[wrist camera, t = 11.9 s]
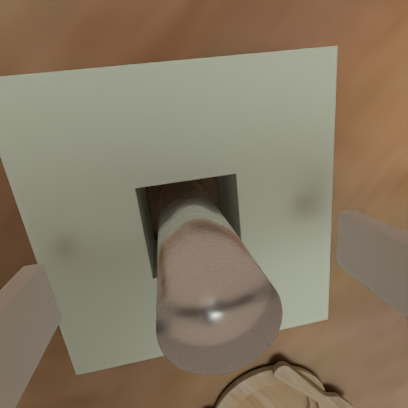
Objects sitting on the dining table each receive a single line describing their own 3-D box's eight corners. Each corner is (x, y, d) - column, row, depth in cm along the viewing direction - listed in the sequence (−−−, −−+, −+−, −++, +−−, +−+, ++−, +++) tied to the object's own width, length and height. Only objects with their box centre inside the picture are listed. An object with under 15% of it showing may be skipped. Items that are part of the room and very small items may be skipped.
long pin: (162, 227, 22) (167, 387, 8) (154, 181, 20) (144, 281, 7) (209, 220, 22) (283, 359, 9) (204, 173, 21) (281, 256, 8)
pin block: (97, 313, 23) (76, 375, 17) (33, 94, 18) (-27, 78, 12) (289, 275, 25) (327, 319, 19) (286, 68, 20) (337, 45, 14)
